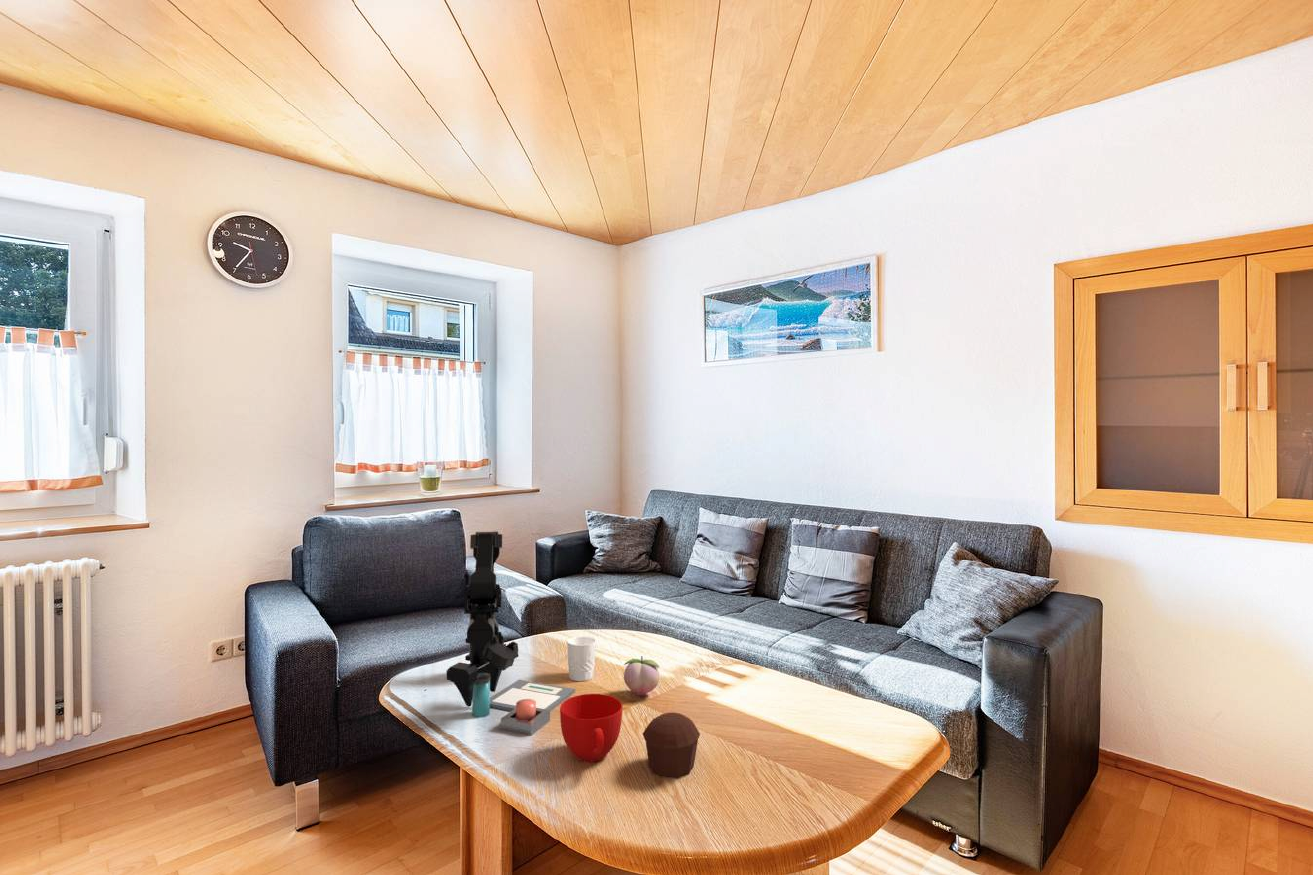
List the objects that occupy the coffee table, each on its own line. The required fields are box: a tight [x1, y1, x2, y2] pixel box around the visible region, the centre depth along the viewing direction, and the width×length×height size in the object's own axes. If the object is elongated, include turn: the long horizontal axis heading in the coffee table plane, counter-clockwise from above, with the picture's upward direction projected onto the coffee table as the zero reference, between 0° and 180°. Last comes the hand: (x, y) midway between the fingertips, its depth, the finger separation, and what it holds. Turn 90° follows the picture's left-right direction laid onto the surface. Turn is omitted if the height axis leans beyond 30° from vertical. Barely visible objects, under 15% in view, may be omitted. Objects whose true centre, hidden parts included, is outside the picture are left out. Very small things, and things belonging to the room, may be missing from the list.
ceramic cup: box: [559, 693, 624, 763], centre depth 130 cm, size 13×17×10 cm
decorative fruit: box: [623, 655, 660, 696], centre depth 163 cm, size 9×8×10 cm
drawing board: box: [490, 679, 576, 712], centre depth 159 cm, size 17×16×1 cm
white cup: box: [566, 635, 597, 682], centre depth 174 cm, size 8×8×10 cm
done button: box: [516, 699, 536, 721], centre depth 145 cm, size 4×4×4 cm
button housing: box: [500, 708, 551, 736], centre depth 145 cm, size 8×8×2 cm
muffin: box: [642, 712, 701, 779], centre depth 127 cm, size 12×11×10 cm
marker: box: [471, 673, 491, 719], centre depth 150 cm, size 4×4×9 cm
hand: (481, 698), depth 150 cm, fingers open, 9 cm apart
